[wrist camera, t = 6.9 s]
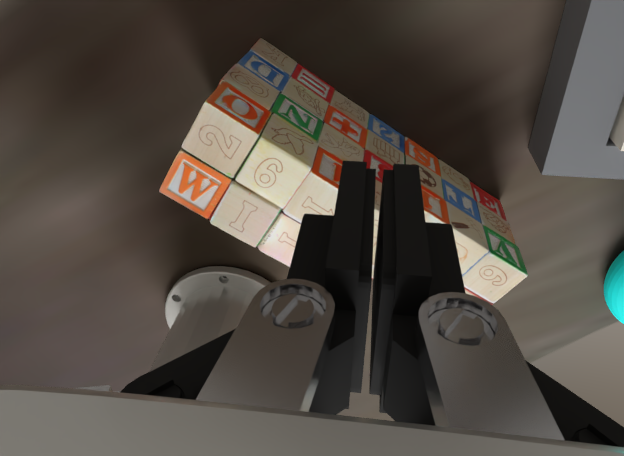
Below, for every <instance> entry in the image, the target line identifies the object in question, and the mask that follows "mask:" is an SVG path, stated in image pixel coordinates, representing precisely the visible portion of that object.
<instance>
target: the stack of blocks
mask: <svg viewBox="0 0 624 456" xmlns="http://www.w3.org/2000/svg"><path fill="white" fill-rule="evenodd" d="M181 147H182V149H181V150H180V151H179V153H178V154H177V156H176V158H175V160H174V162H173V164H172V166H171V167H170V169H169V171H168V173H167V175H166V177H165V179H164V181H163V183H162V185H161V187H160V190H159V191H160V192H161V193H162V194H164V195H166V196H168V197H169V198H171V199H173V200H175V201H176V202H178V203H180V204H182V205H184V206H185V207H187V208H189V209H190V210H192V211H194V212H196V213H198V214H199V215H201V216H203V217H204V218H207V219H209V220H210V223H211V224H212V225H214V226H216V227H218V228H220V229H221V230H223V231H225V232H227V233H229V234H231V235H232V236H234V237H236V238H238V239H239V240H241V241H243V242H245V243H247V244H249V245H251V246H253V247H258V248H259V250H260V251H261V252H263V253H265V254H266V255H268V256H270V257H272V258H274V259H276V260H278V261H279V262H281V263H283V264H285V265H287V266H289V267H290V265H291V261H292V257H293V253H294V249H295V246H296V242H297V238H298V234H299V230H300V226H301V222H302V218H303V215H304V214H319V215H333V216H334V212H335V206H336V200H337V194H338V187H339V181H340V175H341V169H342V163H343V160H344V161H360V162H367V167H366V168H370V169H376V183H375V210H374V238H373V265H372V279H373V275H374V262H375V252H376V242H377V231H378V221H379V211H380V200H381V190H382V180H383V171H384V169H386V170H393V165H394V164H409V165H419V172H420V180H421V189H422V197H423V205H424V214H425V222H430V223H444V224H451V225H452V228H453V233H454V238H455V243H456V248H457V253H458V258H459V263H460V268H461V273H462V278H463V283H464V288H465V293H466V294H469V295H473V296H476V297H479V298H481V299H483V300H484V301H486V302H488V303H490V304H491V305H492V304H493V303H495V302H496V301H497V300H499V299H500V298H501V297H502V296H504V295H505V294H506V293H507V292H509V291H510V290H511V289H512V288H513V287H515V286H516V285H517V284H518V283H519V282H521V281H522V280H523V279H524V278H526V277H527V276H528V274H527V271H526V268H525V265H524V262H523V259H522V256H521V253H520V250H519V248H518V247H517V246H516V245H515V241H514V238H513V235H512V232H511V229H510V226H509V223H508V222H507V220H506V217H505V213H504V210H503V208H502V205H501V202H500V201H499V200H498V199H496V198H495V197H493V196H492V195H490V194H489V193H487V192H485V191H484V190H482V189H481V188H479V187H478V186H476V185H475V184H473V183H472V182H469V179H468V178H467V177H465V176H464V175H462V174H461V173H459V172H458V171H456V170H455V169H453V168H452V167H450V166H449V165H447V164H446V163H444V162H443V161H441V160H439V159H437V157H435V156H434V155H433V154H431V153H430V152H428V151H427V150H425V149H424V148H422V147H421V146H420V145H418V144H417V143H415V142H414V141H412V140H411V139H409V138H408V137H404V136H403V135H401V134H400V133H399V132H397V131H396V130H394V129H393V128H391V127H390V126H388V125H387V124H385V123H384V122H382V121H381V120H379V119H378V118H376V117H375V116H374V115H372V114H369V113H368V112H367V111H366V110H364V109H363V108H361V107H360V106H358V105H357V104H355V103H354V102H352V101H351V100H349V99H348V98H346V97H345V96H343V95H342V94H340V93H339V92H337V91H336V90H335V89H334V88H333V87H332V86H330V85H329V84H328V83H326V82H325V81H323V80H322V79H320V78H319V77H317V76H316V75H314V74H313V73H311V72H310V71H308V70H307V69H306V68H304V67H303V66H301V65H300V64H298V63H297V62H296V61H294V60H293V59H292V58H290V57H289V56H287V55H286V54H284V53H283V52H281V51H280V50H278V49H277V48H276V47H274V46H273V45H271V44H270V43H268V42H267V41H265V40H264V39H262V38H260V39H259V40H258V41H257V42H256V43H255V44H254V45H253V46H252V47H251V49H250V51H249V52H248V53H247V54H246V55H245V56H244V57H243V58H242V59H241V60H240V61H239V62H238V63H237V64H235V65H234V66H233V67H231V69H230V70H229V71H228V72H227V73H226V74H225V75H224V77H223V78H222V79H221V81H220V82H219V84H218V86H217V88H216V90H215V91H214V92H213V93H212V94H211V95H210V96H209V97H208V98H207V99H206V101H205V102H204V104H203V106H202V108H201V110H200V112H199V114H198V116H197V118H196V119H195V121H194V123H193V125H192V127H191V129H190V131H189V133H188V134H187V136H186V138H185V140H184V142H183V144H182V146H181Z"/></svg>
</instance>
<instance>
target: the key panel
mask: <svg viewBox="0 0 624 456" xmlns="http://www.w3.org/2000/svg"><path fill="white" fill-rule="evenodd" d="M623 96H624V0H566V3H565V7H564V11H563V15H562V19H561V23H560V27H559V30H558V34H557V38H556V42H555V46H554V50H553V53H552V57H551V61H550V65H549V69H548V73H547V77H546V80H545V84H544V88H543V92H542V96H541V100H540V103H539V107H538V111H537V115H536V119H535V123H534V126H533V130H532V134H531V138H530V142H529V146H528V149H529V151H530V153H531V155H532V157H533V159H534V161H535V163H536V165H537V166H538V168H539V170H540V172H541V174H542V175H555V176H572V177H589V178H607V179H624V151H620V150H619V148H618V147H617V146H616V145H615V144H614V143H613V141H612V140H611V139H610V138H609V135H610V132H611V130H612V127H613V124H614V121H615V118H616V115H617V113H618V110H619V107H620V104H621V101H622V98H623Z"/></svg>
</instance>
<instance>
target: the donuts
mask: <svg viewBox="0 0 624 456" xmlns="http://www.w3.org/2000/svg"><path fill="white" fill-rule="evenodd" d="M604 297H605V301H606V303H607V305H608V307H609V309H610V311H611V312H612V314H613V315H614V316H615V317H616V318H617V319H618V320H619V321H620V322H622V323H623V324H624V251H622V252H621V253H620V254H619V255H618V257H617V258H616V259H615V260H614V261H613V263H612V264H611V266H610V268H609V270H608V272H607V274H606V277H605V281H604Z"/></svg>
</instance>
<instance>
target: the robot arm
mask: <svg viewBox="0 0 624 456" xmlns="http://www.w3.org/2000/svg"><path fill="white" fill-rule="evenodd" d="M366 167H367V162H360V161H344V160H343V163H342V169H341V175H340V181H339V187H338V194H337V200H336V206H335V212H334V216H333V215H319V214H304V215H303V218H302V222H301V226H300V230H299V234H298V238H297V242H296V246H295V249H294V253H293V257H292V261H291V265H290V269H289V273H288V277H287V279H284V280H279V281H276V282H273V283H271V282H269V281H267V280H266V279H264V278H263V277H261V276H259V275H256V274H254V273H252V272H249V271H246V270H243V269H239V268H235V267H226V266H209V267H205V268H200V269H196V270H194V271H192V272H189V273H187V274H186V275H184V276H183V277H181V278H180V279H179V280H178V281H177V282H176V283H175V284H174V286H173V287H172V289H171V291H170V293H169V294H168V297H167V300H166V303H165V316H166V320H167V324H168V326H169V328H170V331H169V333H168V335H167V337H166V339H165V341H164V343H163V345H162V347H161V349H160V351H159V353H158V355H157V357H156V359H155V361H154V363H153V365H152V367H151V369H150V371H149V372H148V373H146V374H144V375H142V376H140V377H139V378H137V379H136V380H134V381H132V382H131V383H129V384H128V385H127V386H126V387H125V388H124V389H123V390H122V391H115V392H112V388H111V385H105V386H94V387H83V388H62V387H45V386H29V385H0V456H624V427H622V426H621V425H619V424H618V423H617V422H615V421H614V420H612V419H611V418H609V417H607V416H606V415H605V414H603V413H602V412H600V411H599V410H598V409H596V408H595V407H593V406H592V405H590V404H589V403H587V402H586V401H584V400H583V399H581V398H580V397H578V396H577V395H576V394H574V393H573V392H571V391H570V390H568V389H567V388H565V387H564V386H562V385H561V384H559V383H558V382H556V381H555V380H553V379H552V378H551V377H549V376H548V375H546V374H545V373H543V372H542V371H540V370H539V369H537V368H536V367H534V366H533V365H532V364H530V363H529V362H527V361H526V360H525V359H524V357H523V355H522V353H521V351H520V349H519V347H518V345H517V343H516V341H515V339H514V336H513V334H512V332H511V330H510V328H509V326H508V324H507V322H506V320H505V319H504V317H503V316H502V315H501V313H500V312H499V310H497V309H496V308H495V307H494V306H492V305H491V304H490V303H488V302H486V301H484V300H483V299H481V298H479V297H476V296H473V295H469V294H466V293H465V288H464V283H463V278H462V273H461V268H460V263H459V258H458V253H457V248H456V243H455V238H454V233H453V228H452V225H451V224H444V223H430V222H425V214H424V205H423V197H422V189H421V180H420V172H419V165H409V164H394V165H393V170H386V169H384V171H383V180H382V190H381V200H380V211H379V221H378V231H377V242H376V252H375V262H374V275H373V301H372V331H371V361H370V394H375V395H380V412H381V413H387V414H388V415H389V416H391V417H392V418H393V419H394V420H395V421H387V420H378V419H369V418H360V417H351V416H342V415H336V414H338V413H339V412H341V411H342V410H344V409H349V397H350V392H356V393H361V386H362V376H363V365H364V355H365V344H366V333H367V323H368V312H369V302H370V291H371V280H372V265H373V238H374V210H375V183H376V169H370V168H366Z"/></svg>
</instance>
